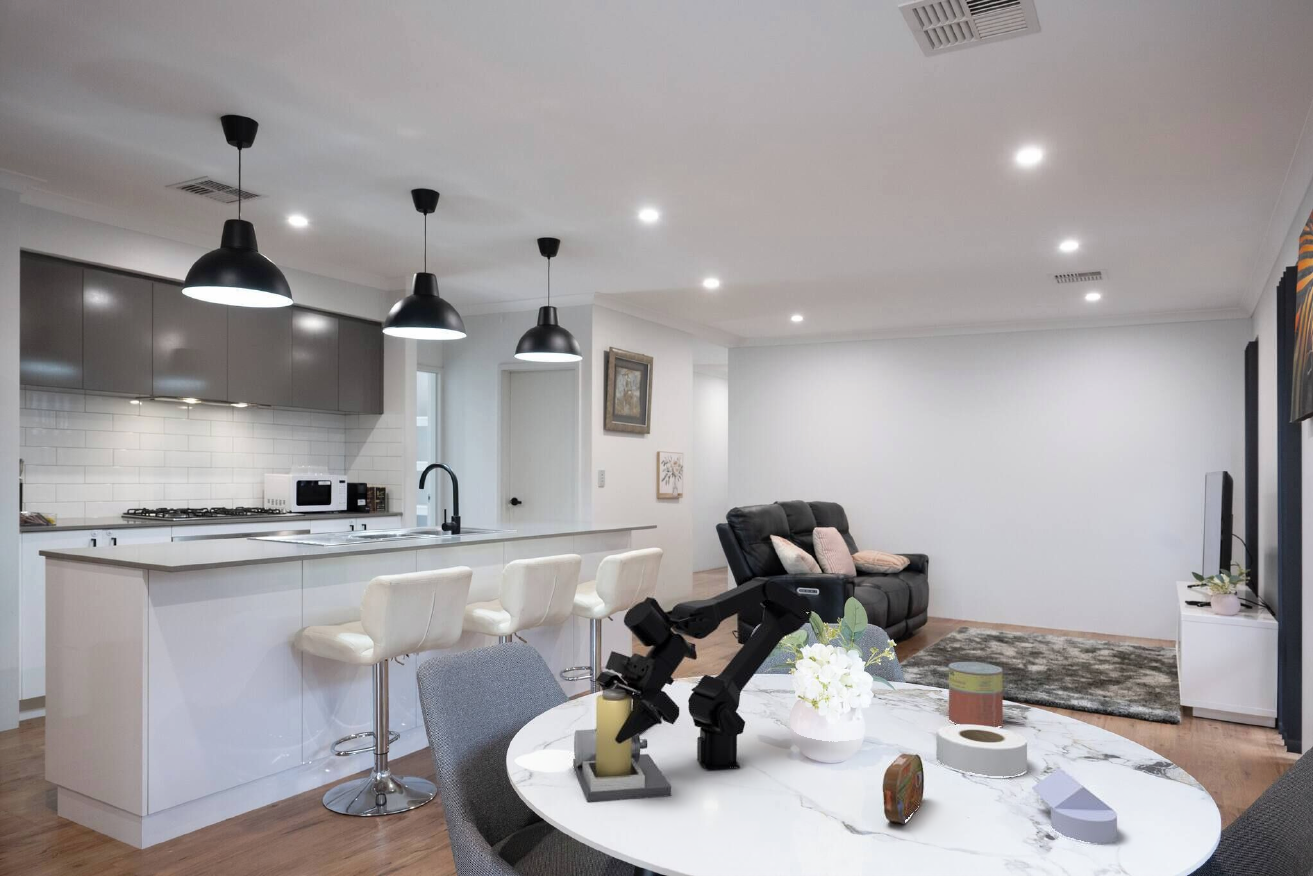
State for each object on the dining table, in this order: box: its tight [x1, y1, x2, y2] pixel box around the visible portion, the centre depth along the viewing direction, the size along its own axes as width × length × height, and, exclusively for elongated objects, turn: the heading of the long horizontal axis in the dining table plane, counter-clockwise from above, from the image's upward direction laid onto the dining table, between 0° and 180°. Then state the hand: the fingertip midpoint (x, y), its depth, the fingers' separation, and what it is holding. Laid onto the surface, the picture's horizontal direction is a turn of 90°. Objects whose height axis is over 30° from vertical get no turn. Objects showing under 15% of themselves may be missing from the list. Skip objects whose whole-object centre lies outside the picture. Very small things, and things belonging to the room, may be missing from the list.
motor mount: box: [572, 728, 672, 803], centre depth 148 cm, size 14×17×8 cm
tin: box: [882, 753, 925, 825], centre depth 136 cm, size 15×3×8 cm, turn 148°
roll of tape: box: [935, 724, 1028, 777], centre depth 160 cm, size 16×16×6 cm
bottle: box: [595, 689, 633, 777], centre depth 144 cm, size 6×6×14 cm
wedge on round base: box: [1030, 767, 1118, 845], centre depth 132 cm, size 9×7×13 cm
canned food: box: [947, 661, 1004, 727], centre depth 187 cm, size 11×11×12 cm
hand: (606, 737), depth 144 cm, fingers closed on bottle, 6 cm apart
